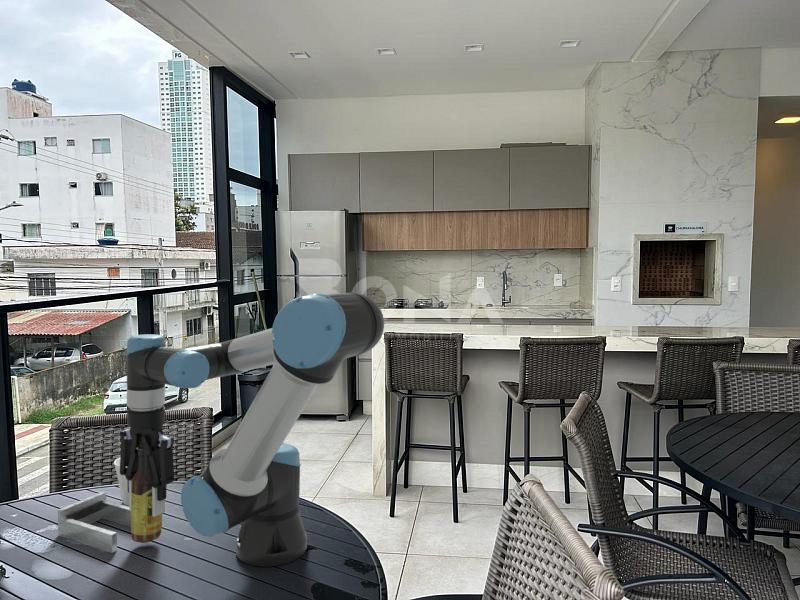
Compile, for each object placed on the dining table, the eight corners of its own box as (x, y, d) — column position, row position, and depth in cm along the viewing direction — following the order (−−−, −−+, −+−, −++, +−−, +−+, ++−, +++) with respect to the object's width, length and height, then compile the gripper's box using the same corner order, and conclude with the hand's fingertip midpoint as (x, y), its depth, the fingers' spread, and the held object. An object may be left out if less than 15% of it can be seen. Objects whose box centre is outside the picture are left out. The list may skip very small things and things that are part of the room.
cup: (150, 490, 154) (149, 450, 153) (161, 503, 146) (161, 461, 145) (109, 499, 147) (109, 458, 147) (119, 513, 140) (119, 469, 139)
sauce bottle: (151, 545, 121) (151, 454, 119) (124, 542, 122) (124, 451, 120) (168, 531, 127) (168, 444, 126) (142, 528, 128) (142, 442, 127)
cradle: (155, 530, 131) (154, 505, 131) (112, 553, 121) (111, 526, 121) (103, 515, 138) (102, 491, 138) (58, 535, 128) (57, 509, 128)
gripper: (193, 408, 122) (193, 513, 124) (129, 397, 130) (129, 495, 131) (165, 417, 115) (166, 527, 117) (99, 404, 123) (100, 508, 125)
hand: (146, 510), depth 124 cm, fingers closed on sauce bottle, 6 cm apart
